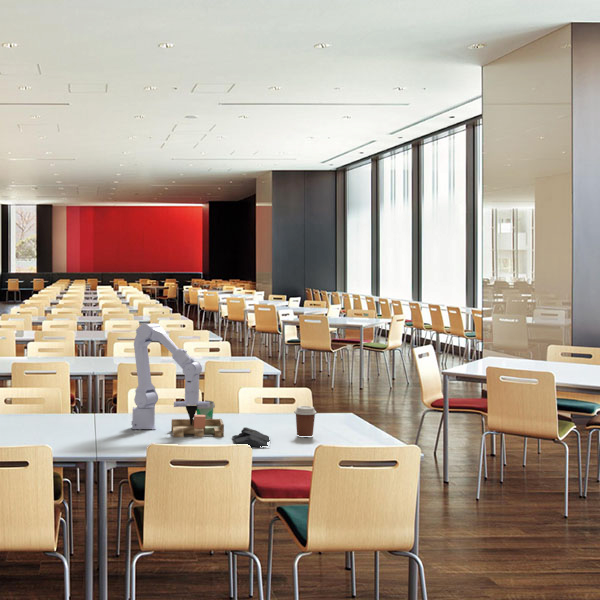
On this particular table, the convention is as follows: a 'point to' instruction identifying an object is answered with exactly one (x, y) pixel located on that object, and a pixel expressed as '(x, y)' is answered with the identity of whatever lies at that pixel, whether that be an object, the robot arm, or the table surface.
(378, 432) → the table surface
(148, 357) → the robot arm
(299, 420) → the coffee cup
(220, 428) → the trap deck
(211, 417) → the food container
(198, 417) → the clay-red block
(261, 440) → the dark slate chunk
